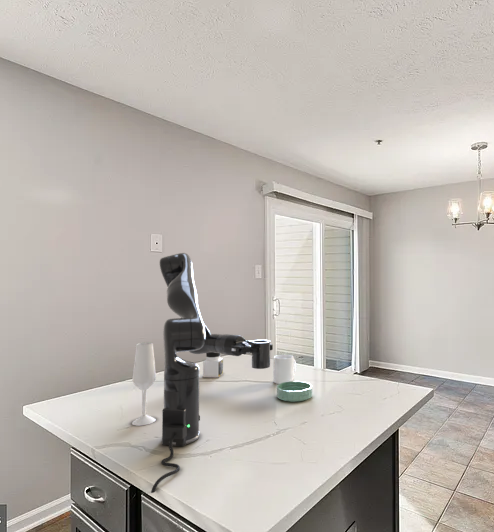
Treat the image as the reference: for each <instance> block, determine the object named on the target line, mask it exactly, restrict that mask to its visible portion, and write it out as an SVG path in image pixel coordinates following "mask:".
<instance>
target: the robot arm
mask: <svg viewBox="0 0 494 532" xmlns="http://www.w3.org/2000/svg"><path fill="white" fill-rule="evenodd" d="M159 269H160V273H161V275H162V278H163V280H164V282H165V284H166V287H167V289H166V303H167V306H168V308H169V309H170V310H171V311H172V312H173V313H174V314H176V315H177V316H178V317H177V318H169V319H166V320H165V321H164V324H163V329H162V330H163V331H162V335H163V336H162V337H163V356H164V357H163V358H164V359H163V360H164V363H163V409H162V410H161V411H162V413H161V415H162V417H161V418H162V420H161V421H162V426H161V428H162V429H161V445H162V446H168V448H169V453H170V454H169V456H168V457H166V458H163V459H162V460H161V461H160V463H161V465H162V466H165V467H169V468H175V469H174V470H171V471H169V472H166V473H165V474H163V475H161V476H160V477H159V478H157V480H156V481H155V482H154V484H153V486H152V488H151V491H150V493H151V494H154V493H155V492H156V490H157V487H158V485H159V484H160V483H161V482H162V481H163V480H164V479H167V478H169V477H171V476H173V475H175V474H177V473H179V472H180V469H181V467H180V465H179V464H178V463H173V462H169V461H170V460H171V459H173V457H174V448H173V447H185V446H186V445H189V444H192V443H194V442H195V441H197V440H198V439H199V438H200V421H201V416H200V365H199V364H198V363H196V362H193V361H189V360H186V359H183V358H181V357H179V356H178V355H177V353H185V352H188V353H191V354H193V355H202V354H206V353H209V352H214V353H220V355H226V356H233V357H240V356H242V355H247V354H250V355H251V354H252V353H255V354H260V353H261V348H260V347H253V346H252V341H255V340H256V339H254V340H250V339H249V340H246V338H245V337H244V336H242V335H239V334H228V333H227V334H226V333H225V334H224V333H223V334H219V333H212V334H211V331H210V330H209V328H208V327H207V325H206V324H205V323H204V321H203V317H202V315H201V311H200V307H199V306H200V305H199V299H198V292H197V291H198V290H197V287H196V284H195V279H194V264H193V262H192V258H191V256H190V255H189V254H188V253H186V252H179V253H175V254H171V255H167V256H163V257H161V258H160V259H159ZM273 349H274V345H273V343H270V351H273Z"/></svg>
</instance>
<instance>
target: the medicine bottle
mask: <svg viewBox="0 0 494 532" xmlns="http://www.w3.org/2000/svg"><path fill="white" fill-rule="evenodd" d="M205 354H206V355H205V356H206V357H205V358H206V359H204V360H203V362H202V378H220V377H221V376H222V375H223V374H224V358H223V357H221V353H214V352H209V353H205Z"/></svg>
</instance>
